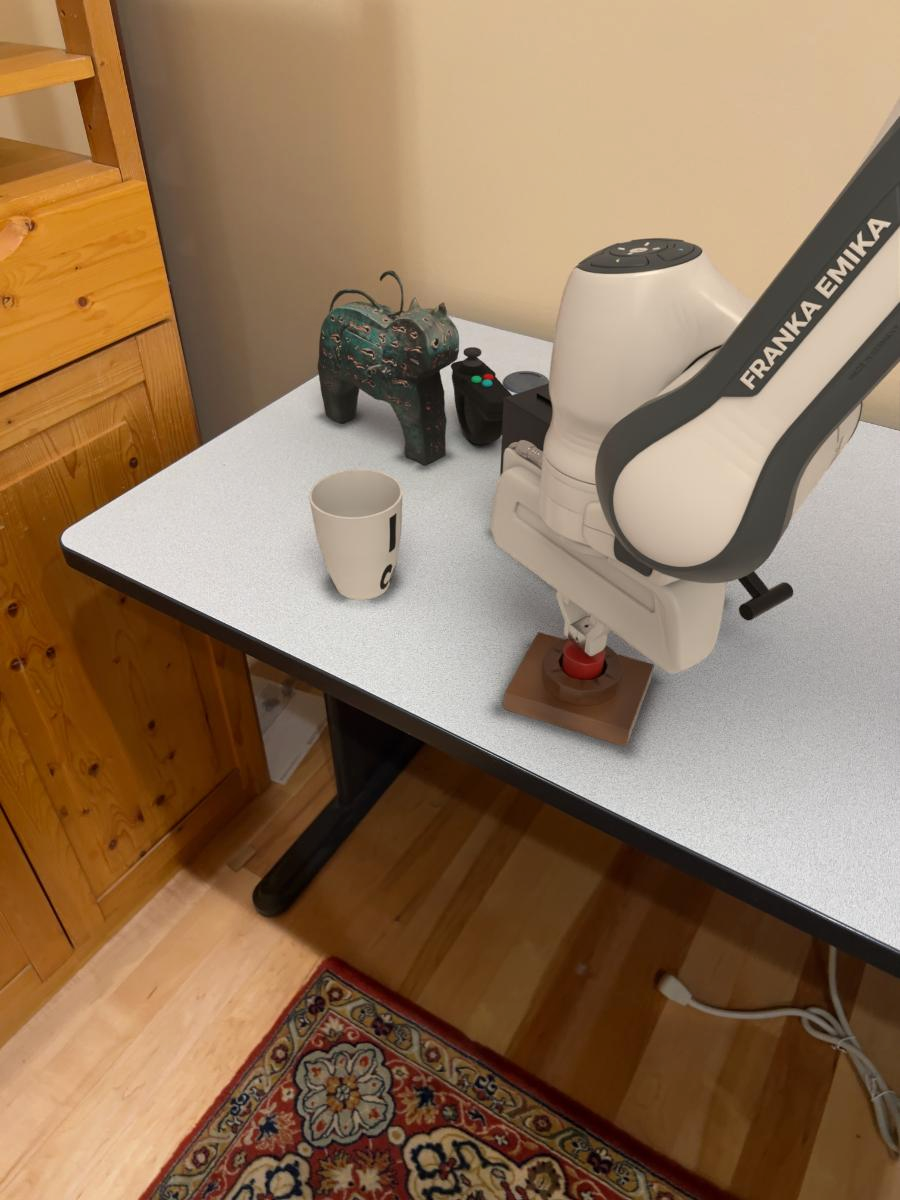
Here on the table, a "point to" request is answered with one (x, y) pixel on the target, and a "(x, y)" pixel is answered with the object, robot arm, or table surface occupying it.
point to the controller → (478, 398)
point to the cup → (358, 529)
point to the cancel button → (582, 662)
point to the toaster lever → (762, 596)
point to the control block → (579, 692)
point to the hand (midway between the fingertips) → (584, 643)
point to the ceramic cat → (389, 366)
